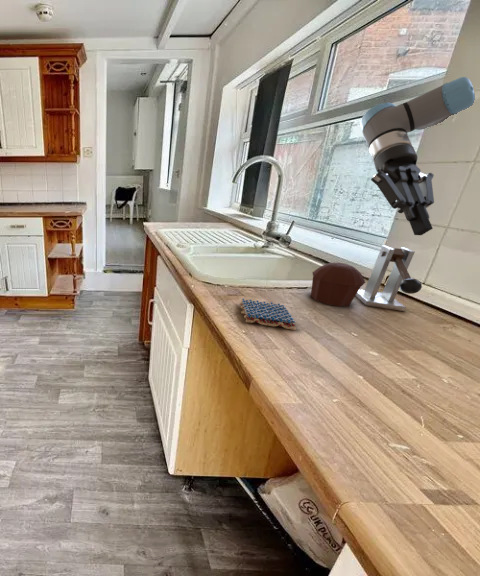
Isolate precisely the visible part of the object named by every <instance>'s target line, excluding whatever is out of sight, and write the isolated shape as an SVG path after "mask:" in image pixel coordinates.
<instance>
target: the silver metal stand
mask: <svg viewBox="0 0 480 576" xmlns="http://www.w3.org/2000/svg"><path fill="white" fill-rule="evenodd" d="M392 248H393V247H390V246H388V245H383V244H382V245H381V248H380V250H379V252H378V255H377V258H376V260H375V262H374V266H373V268H372V270H371V273H370V274H369V275H370V276H369V278H368V280H367V283H366V285H365V287H364V289H359V290H358V292H357V294H356V295H355V298H357V299H358V300H359V301H360V302H361V303H363V304H364V306H368V307H374V308H381V309H386V310H392V311H393V310H394V311H400V312H405V310H406V306H405V304H402V303H401V302H400V301H398V300H397V299H396V297H397V294H398V292H399V290H400V283H401V282H402V281H403V279H402V277H401V275H400V273H399V271H398V268H397V266H396V264H395V263H394V264H393V266H392V269H391V271H390V273H389V276H388V279H387V280H386V283H385V285H384V288H383V290H382V292H379V289H380V286H381V284H382V282H383V279H384V278H385V274H386V272H387V270H388V268H389V265H390V263H391V262H390V260H391V258H392V255H393V253H394V250H395V249H392ZM400 249H402V251H403V253H404V255H405V256H404V257H403V259H402V261H403V263H404V265H405V267H406V269H407V270H408V269H409V267H410V264H411V262H412V259H413V257H414V255H415V253H416V251H414V250H412V249H410V248H408V247H402V246H401V247H400Z"/></svg>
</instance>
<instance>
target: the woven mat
mask: <svg viewBox="0 0 480 576" xmlns="http://www.w3.org/2000/svg"><path fill="white" fill-rule="evenodd" d="M239 305H240V309H241V314H243V317H244V320H245V323H251V324H252V323H258V324H260V325H261V326H267V327H281V328H284V329H286V330H287V329H288V330H292V331H293V330H294V331H296V330H297V326H296V325H297V321H296V320H295V319H294V316H292V314H291V312H289V310H288V309H287V307H286V306H285V304H284V305H283V304H280V303H277V304H276V303H274V304H273V302H270V303H268V302H266V301H264V300H263V302H262V301H259V300H256V301H255V300H253V301H252V299H249V300H248V299H245V298H242V300H241V301H240V302H239Z"/></svg>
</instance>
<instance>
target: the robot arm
mask: <svg viewBox="0 0 480 576" xmlns="http://www.w3.org/2000/svg"><path fill="white" fill-rule="evenodd" d="M473 87H474V85H473V83H472V81H471V79H469V77H467V76H462V77H459V78H456V79H454V80H451V81H449V82H445V83H443V84H442V85H440V86H437V87H436V88H433V89H432V90H429V91H427V92H425V93H422V94H421V95H419V96H416V97H414V98H412V99H409V100H408V101H405V102H404V103H399V104H397V105H396V104H394V103H392V102H384V103H379V104H376V105H374V106H372V107H371V108H370V109H368V110H367V111H366V112H365V113H364V114H363V115H362V117H361V119H360V128H361V131H362V136H363V138H364V140H365V143H366V146H367V148H368V152H369V153H370V157H371V159H372V163H373V165H374V168H375V171H376V173H375V174H374V175H373V176H372V177H371V178H370V181H372V183H373V184H375V185H376V186H377V188H378V189H379V190H380V192H381V194H382V195H383V196H384V198H385V199H386V201H387V203H388V204H389V205H390V207H391V208H392V209H394V210H396V209H398V210H397V212H398V213H399V214H404V217H405V220H406V221H407V222H408V223H409V225H410V227H411V230H412V233H413V235H414V236H423V235H424V234H426V233H428V232H430V231H432V230H433V226H432V223H431V221H430V214H429V212H428V209H427V208H429V207H431V205H433V204H434V203H435V199H434V189H433V181H432V180H433V178H434V177H435V176H434V174H433V173H432V172H428V173H427V174H425V173H424V172H422V171H421V168H420V167H419V166H417V161H418V154H417V152H416V149H415V147H414V146H413V144H412V142H411V139H410V137H409V135H408V133H411V132H413V131H415V130H418V131H420V130H421V131H422V130H426V129H425V128H427V127H430V128H431V126H432V127H435V126H434V125H436V126H438V125H437V124H438V123H441V122H443V121H444V120H445V119H447V118H448V117H449V116H451V115H454V114H457V113H458V112H460V111H462V110H465V109H467V108H469V107H470V106H472V105H473V103H474V100H475V93H474V88H473ZM427 129H428V128H427Z"/></svg>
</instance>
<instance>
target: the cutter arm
mask: <svg viewBox="0 0 480 576" xmlns="http://www.w3.org/2000/svg"><path fill="white" fill-rule="evenodd" d="M391 248H392V249H395V250H394V253H393V255H392V258H391V260H390V262H389V263H394V264H396V266H397V268H398V271H399V273H400V275H401V277H402V279H403V280H402V282H401V283H400V287H399V290H400V291H401V292H403V293H405V294H408V295H410V294H411V295H412V294H417V293H418V292H420V291H421V290H422V287H423V283H422V282H421V281H420V280H419V279H416V278H414V277H413V278H412V277H411V275H410V273H409V271H408V269H406V267H405V265H404V263H403V261H402V259H403V257H404V256H405V255H404V253H403V251H402V249H401V248H396V247H391Z"/></svg>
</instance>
